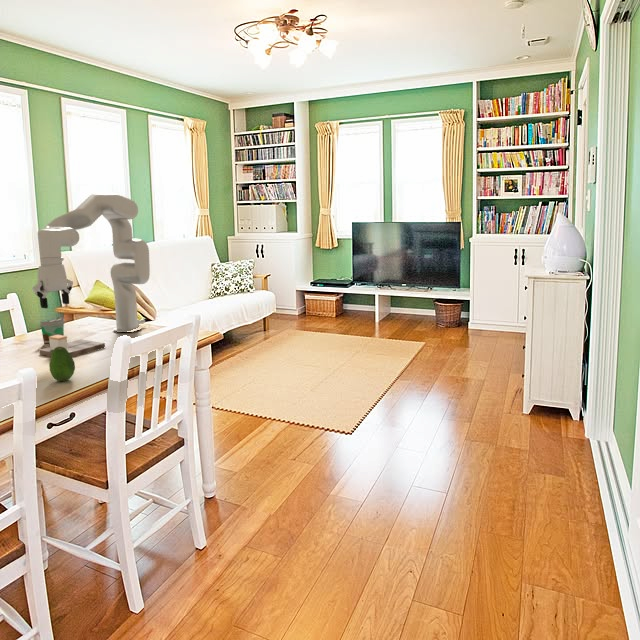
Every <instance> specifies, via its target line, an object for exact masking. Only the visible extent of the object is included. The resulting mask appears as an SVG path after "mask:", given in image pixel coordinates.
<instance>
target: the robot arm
mask: <svg viewBox="0 0 640 640" xmlns="http://www.w3.org/2000/svg"><path fill="white" fill-rule="evenodd" d="M138 214H139V207H138V205H137V203H136V202H135V201H134V200H133V199H131V198H128V197H125V196H123V195H120V194H117V193H113V192H97V193H95V192H94V193H92V194H91V195H89V196H88V197H87V198H86V199H85V200H84V201H83V202H82V203H80V204H79V205H78V206H77V207H76V208H75V209H73V210H70V211H68V212H67V213H64V214H61V215H59V216H57V217H55V218H53V219H52V220H51V221H49V223H47V224H46V225H45V226H44V227H43V228H42V229H39V230H38V231H37V241H38V252H39V261H40V262H39V263H40V265H39V266H38V269H37V283H36V284H35V285H33V286H32V287H31V288H32V289H31V290H33V292H34V294H35V295H36V296H37V297H38V299H39V303H40V308H41V309H48V308H49V305H48V298H47V295H48V294H49V293H53V292H54V293H55V292H60V291H61V299H62V300H61V302H62V304H65V305H69V304H70V294H71V291H72V288H73V285H74V281H73V280H70V279H68V278H67V273H66V268H65V266H64V264H63V261H64V260H65V258H64V257H62V249H61V248H62V247H64V248H66V247H67V248H69V247H70V248H71V247H75V246H76V245H77V244H78V243H79V241H80V234H79V232H78V230H81V229H82V230H83V229H85V228H88V227H90V226H92V225H93V224H94V223H96V221H97V220H98V218H100V217H101V216H103V217H104V218H105V219H106V220H107V222H108V223H109V225H110V227H111V232H112V250H113V251H112V252H113V255H114V257H115V258H116V259H118V260H126V261H128V260H129V261H133V262H123V261H122V262H117V263H115V264H113V265H112V267H111V268H110V272H109V273H110V278H111V281H112V286H113V292H114V293H113V295H114V309H115V323H116V325H115V327H113V329H112V330H114V331H117V332H127V331H131V330H133V329H136V328H138V327H139V326H141V324H144V323H146V320H145V319H144V318H142V319H141V318H140V319H139V318H138V305H137V303H138V301H137V291H136V288H135V287H134V285H145V284H146V283H147V282H148V281H149V279H150V275H151V274H150V273H151V272H150V271H151V270H150V248H149V246H148V243H147V242H146V241H145V240H144V239H141V238H133V228H132V224H131V223H130V221H129V220H134V219H135V218H136V217H137V216H138ZM139 324H140V325H139ZM114 331H113V332H114ZM117 332H116V333H117Z"/></svg>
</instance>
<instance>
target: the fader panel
mask: <svg viewBox="0 0 640 640" xmlns="http://www.w3.org/2000/svg"><path fill="white" fill-rule="evenodd" d="M67 347H68V349H66V350H67V351H68V352H69V354H70V355H71V357H72V358H74V357H79V356H81V355H82V356H83V355H85V354H88V352H89V353H92V352H95V350H96V351H99V350H102V349H101V348H103V349H105V348H106V343H104V342H99V341H93V340H87V339H75V340H73V341H67ZM104 347H105V348H104ZM98 349H99V350H98ZM38 352H39V355H40V356H44V355H46V356H45V357H49V356H50V358H51V355H52V352H53V350H50V346H49V347H46V348H41V349H39V351H38Z"/></svg>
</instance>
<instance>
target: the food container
mask: <svg viewBox="0 0 640 640" xmlns="http://www.w3.org/2000/svg"><path fill="white" fill-rule="evenodd" d="M65 324H66V320H65V319H64V317H63V316H56V318H55V319H50V320H47V321H40V323H39V327H40V328H41V334H42V339H43V345H44V344H50V341H49V337H50V336H54V335H63V336H65V334H64V333H65V330H64V328H65V327H64V326H65Z"/></svg>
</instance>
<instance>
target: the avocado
mask: <svg viewBox="0 0 640 640" xmlns="http://www.w3.org/2000/svg"><path fill="white" fill-rule="evenodd" d="M73 358H74V357H71V355H70V354H69V352H68V351H67V350H66V349H65V348H64V347H56V348H55V349H54V350H53V352H52V355H51V357H50V360H49V372H50V374H51V376H52V378H53V379H54V380H55V381H58V382H65V381H67V380H69V379H71V378H72V377H73V376H74V374H75V370H76V364H75V360H74V359H73Z"/></svg>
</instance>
